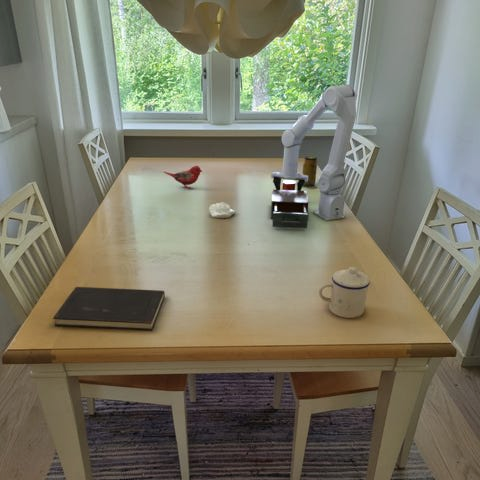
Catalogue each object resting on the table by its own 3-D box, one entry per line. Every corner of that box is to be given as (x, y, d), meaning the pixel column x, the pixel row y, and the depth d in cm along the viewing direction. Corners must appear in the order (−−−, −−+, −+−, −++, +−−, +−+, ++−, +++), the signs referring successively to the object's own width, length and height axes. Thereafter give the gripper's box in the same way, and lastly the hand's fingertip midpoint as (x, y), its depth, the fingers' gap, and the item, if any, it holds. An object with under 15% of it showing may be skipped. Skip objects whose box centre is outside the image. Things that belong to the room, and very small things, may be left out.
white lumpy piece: (205, 199, 180) (230, 197, 183) (205, 210, 182) (230, 208, 185) (212, 207, 172) (238, 205, 175) (212, 219, 174) (238, 217, 177)
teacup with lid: (360, 301, 125) (367, 260, 119) (367, 319, 118) (376, 277, 112) (314, 300, 125) (319, 259, 119) (319, 318, 118) (324, 275, 112)
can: (295, 203, 192) (297, 183, 188) (283, 204, 191) (284, 184, 187) (291, 199, 196) (293, 180, 192) (280, 200, 195) (281, 180, 191)
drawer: (307, 232, 163) (309, 218, 161) (272, 231, 164) (273, 216, 161) (304, 215, 178) (306, 201, 175) (272, 214, 179) (273, 200, 176)
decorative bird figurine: (201, 191, 203) (201, 167, 198) (162, 187, 207) (161, 163, 202) (203, 189, 205) (203, 165, 200) (165, 185, 209) (164, 161, 204)
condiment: (308, 181, 219) (310, 154, 212) (322, 186, 213) (325, 158, 207) (296, 184, 215) (299, 156, 209) (310, 188, 209) (313, 160, 203)
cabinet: (306, 220, 176) (308, 202, 172) (270, 218, 176) (271, 201, 173) (304, 207, 188) (306, 190, 184) (271, 206, 188) (272, 189, 185)
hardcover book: (152, 330, 111) (151, 322, 110) (54, 326, 112) (52, 317, 111) (164, 297, 125) (164, 289, 124) (77, 293, 126) (76, 285, 125)
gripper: (269, 163, 184) (268, 198, 191) (307, 167, 180) (304, 202, 188) (274, 159, 190) (272, 193, 197) (310, 162, 186) (307, 197, 193)
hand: (287, 197), depth 193 cm, fingers open, 7 cm apart
